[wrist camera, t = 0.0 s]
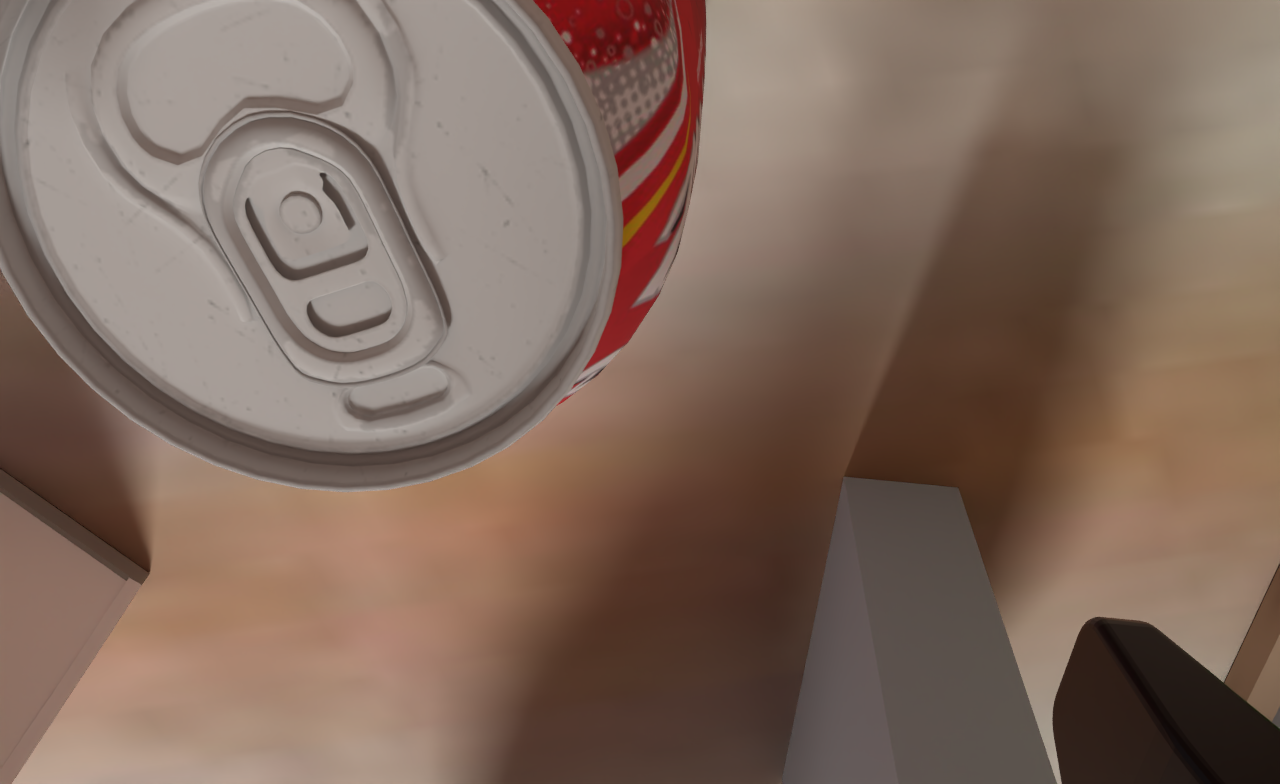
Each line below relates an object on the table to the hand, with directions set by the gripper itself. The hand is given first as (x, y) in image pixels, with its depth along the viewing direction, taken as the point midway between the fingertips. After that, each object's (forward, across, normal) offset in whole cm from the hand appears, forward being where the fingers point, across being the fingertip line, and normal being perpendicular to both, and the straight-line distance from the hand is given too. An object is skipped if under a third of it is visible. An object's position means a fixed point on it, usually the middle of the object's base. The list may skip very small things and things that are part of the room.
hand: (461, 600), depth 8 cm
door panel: (+15, -7, +13) cm, 21 cm away
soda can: (+15, +2, -2) cm, 15 cm away
